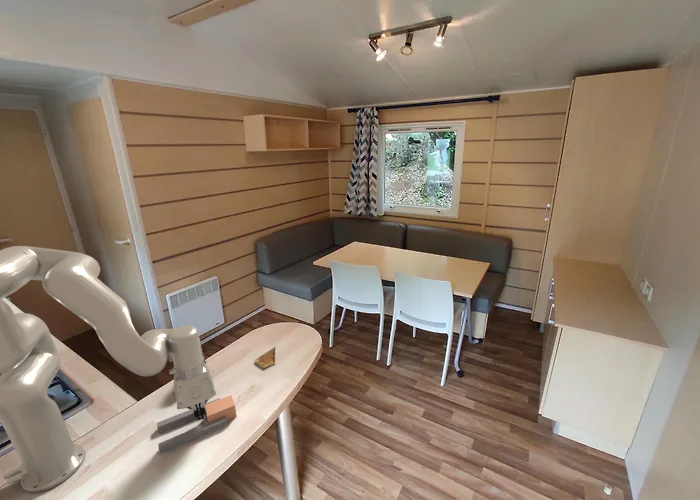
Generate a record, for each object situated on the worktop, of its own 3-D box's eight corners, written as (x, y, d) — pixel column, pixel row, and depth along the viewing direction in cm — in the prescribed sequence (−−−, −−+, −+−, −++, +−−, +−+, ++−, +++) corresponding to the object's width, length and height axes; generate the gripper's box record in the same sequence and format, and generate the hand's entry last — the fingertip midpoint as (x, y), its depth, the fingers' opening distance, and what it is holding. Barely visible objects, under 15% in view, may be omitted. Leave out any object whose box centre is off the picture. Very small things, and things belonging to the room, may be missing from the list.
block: (209, 427, 97) (207, 416, 95) (207, 416, 101) (204, 405, 100) (236, 416, 101) (234, 405, 99) (233, 405, 105) (231, 394, 103)
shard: (275, 349, 133) (275, 345, 133) (287, 356, 129) (287, 352, 128) (254, 363, 125) (253, 359, 125) (266, 371, 121) (266, 367, 120)
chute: (160, 454, 89) (158, 449, 88) (158, 428, 97) (156, 422, 96) (227, 425, 98) (226, 419, 97) (220, 403, 106) (219, 398, 105)
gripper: (161, 385, 85) (174, 437, 91) (220, 365, 92) (228, 414, 98) (159, 369, 91) (171, 418, 97) (215, 351, 98) (223, 398, 104)
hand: (200, 416), depth 98 cm, fingers closed
